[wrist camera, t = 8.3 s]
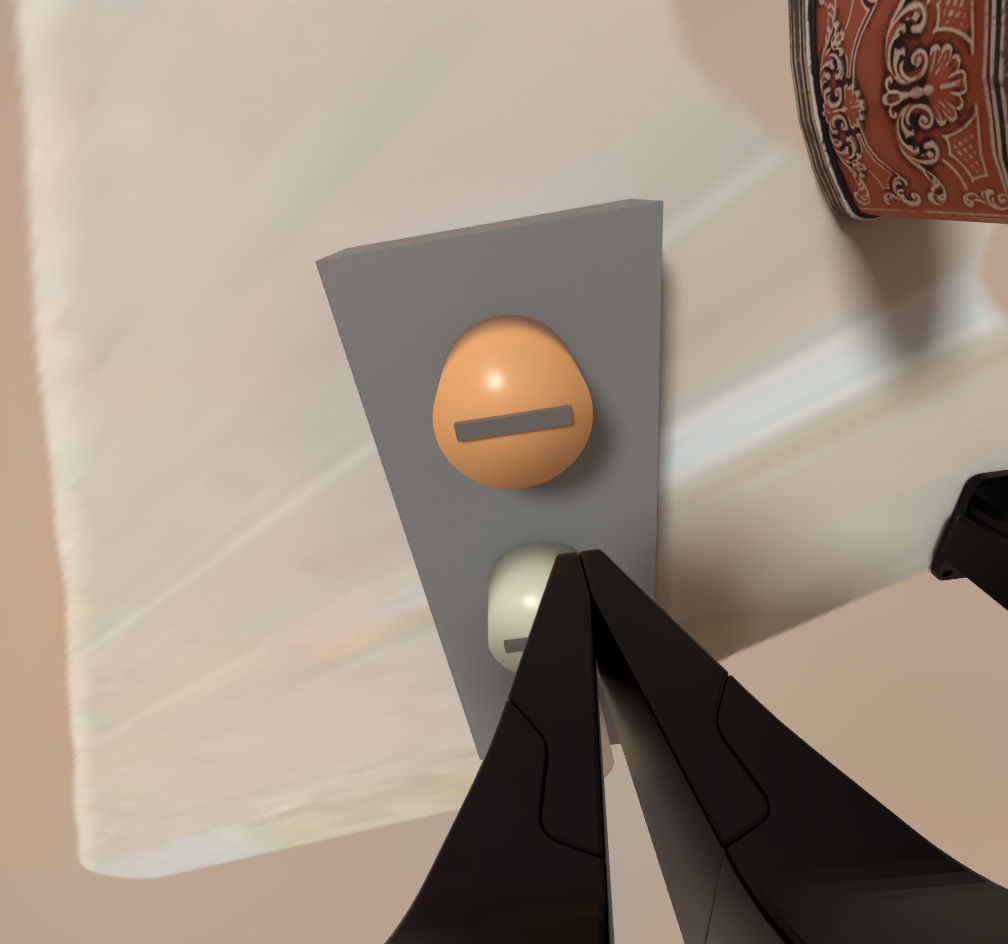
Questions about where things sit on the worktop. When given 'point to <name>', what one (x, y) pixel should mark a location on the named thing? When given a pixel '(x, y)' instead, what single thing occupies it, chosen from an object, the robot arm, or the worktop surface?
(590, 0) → the worktop surface
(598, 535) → the knob mount
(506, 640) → the knob centre
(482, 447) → the knob
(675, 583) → the worktop surface
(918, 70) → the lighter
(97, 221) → the worktop surface
